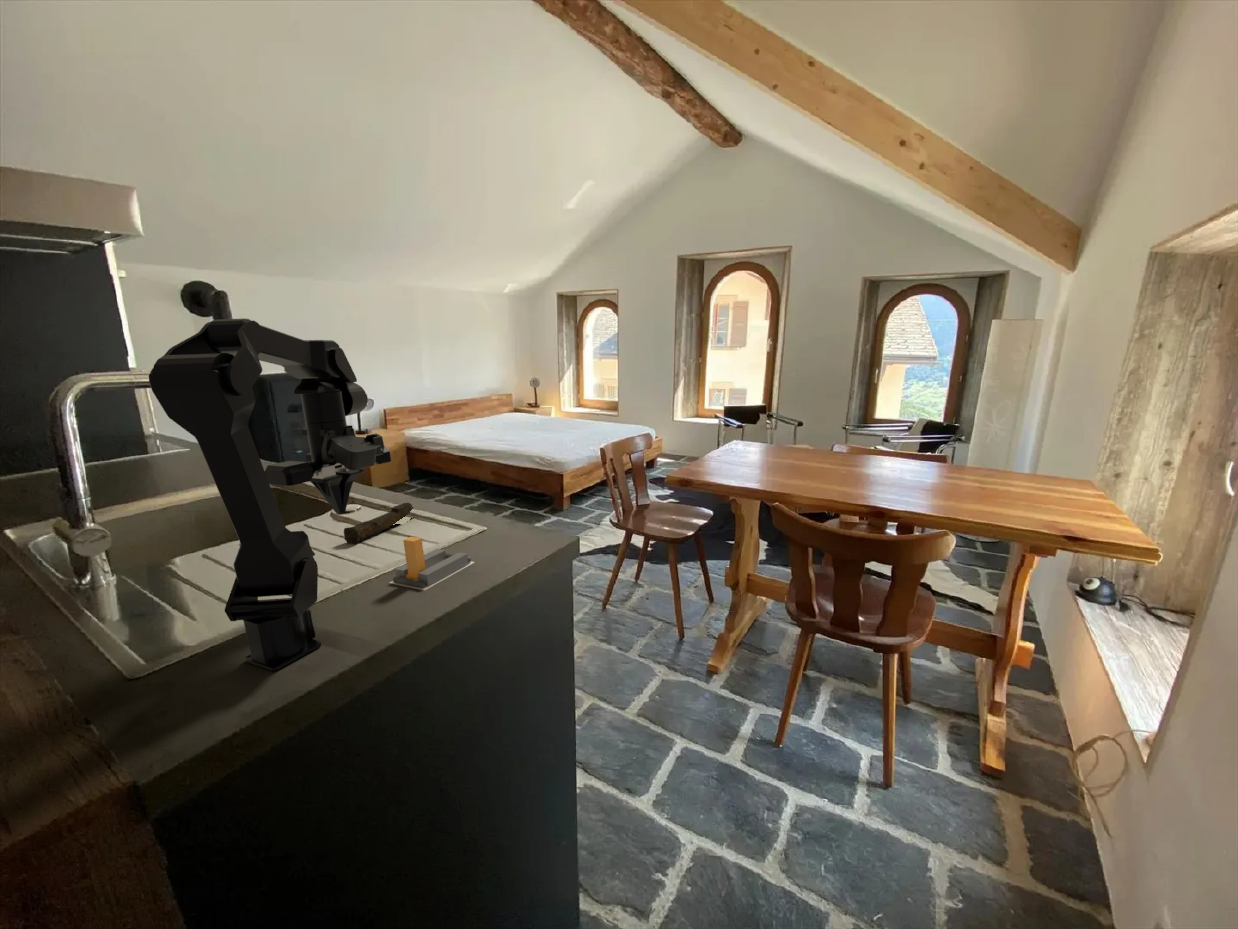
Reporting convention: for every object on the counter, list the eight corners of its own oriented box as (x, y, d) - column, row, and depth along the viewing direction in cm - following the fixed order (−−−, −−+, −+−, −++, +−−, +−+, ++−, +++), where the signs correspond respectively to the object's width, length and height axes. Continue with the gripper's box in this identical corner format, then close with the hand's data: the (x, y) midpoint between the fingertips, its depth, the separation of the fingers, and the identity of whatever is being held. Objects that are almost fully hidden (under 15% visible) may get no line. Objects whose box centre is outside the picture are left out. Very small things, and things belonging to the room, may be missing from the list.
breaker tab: (417, 582, 84) (412, 542, 83) (406, 580, 85) (401, 540, 84) (428, 576, 86) (423, 537, 85) (417, 574, 87) (412, 535, 86)
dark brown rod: (357, 546, 109) (354, 525, 108) (344, 544, 110) (340, 523, 109) (423, 519, 125) (421, 501, 125) (411, 518, 127) (408, 500, 126)
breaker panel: (425, 598, 82) (423, 578, 82) (390, 591, 86) (387, 571, 85) (475, 569, 93) (473, 551, 92) (442, 564, 96) (440, 546, 96)
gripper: (301, 430, 71) (320, 538, 74) (408, 414, 87) (419, 502, 90) (253, 429, 75) (272, 529, 79) (362, 414, 92) (375, 497, 95)
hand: (340, 514), depth 85 cm, fingers closed
